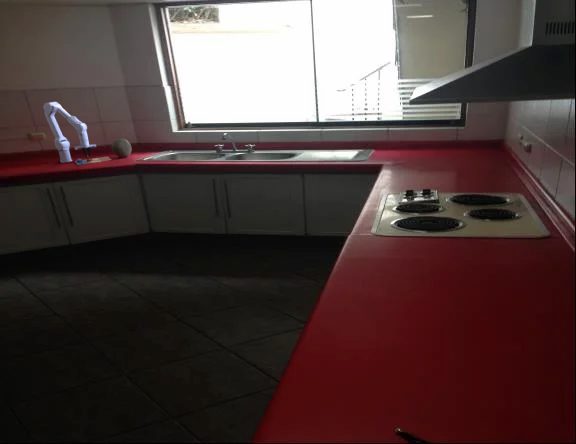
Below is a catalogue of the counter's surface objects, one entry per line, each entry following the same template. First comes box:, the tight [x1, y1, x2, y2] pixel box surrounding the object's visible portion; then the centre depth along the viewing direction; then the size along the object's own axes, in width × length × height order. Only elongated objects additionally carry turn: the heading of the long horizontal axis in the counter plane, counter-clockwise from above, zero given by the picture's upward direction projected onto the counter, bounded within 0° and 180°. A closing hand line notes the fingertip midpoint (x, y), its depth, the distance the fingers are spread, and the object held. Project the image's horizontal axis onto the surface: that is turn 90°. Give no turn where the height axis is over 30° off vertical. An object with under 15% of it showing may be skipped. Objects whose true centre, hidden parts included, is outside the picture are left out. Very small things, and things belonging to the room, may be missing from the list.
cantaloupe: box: [111, 138, 132, 159], centre depth 321 cm, size 14×14×15 cm
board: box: [74, 156, 113, 166], centre depth 318 cm, size 16×24×1 cm, turn 123°
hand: (87, 157), depth 317 cm, fingers closed
